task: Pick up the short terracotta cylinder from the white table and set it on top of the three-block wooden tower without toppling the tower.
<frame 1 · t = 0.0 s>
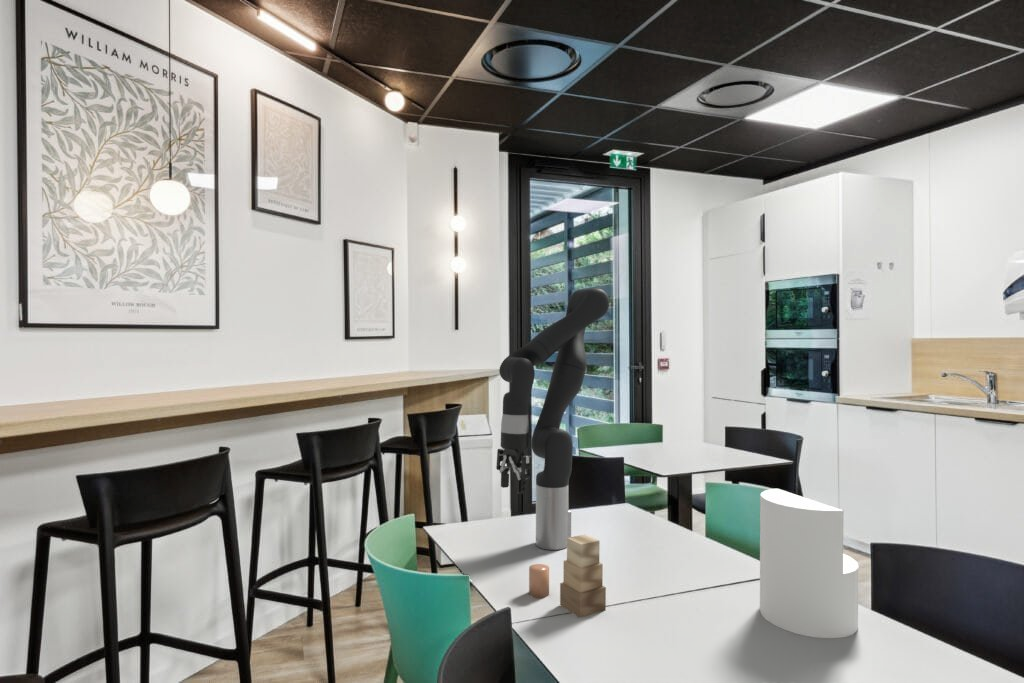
hand: (512, 490, 169), 17 cm above the table, tool pointing down, fingers open, 8 cm apart
tower mid: (582, 585, 135), point 5 cm above the table, touching tower base, tower top
cylinder: (539, 593, 142), on the table
tower top: (583, 562, 135), point 10 cm above the table, touching tower mid
tower base: (582, 608, 135), on the table, touching tower mid
cylinder 2: (807, 617, 131), on the table
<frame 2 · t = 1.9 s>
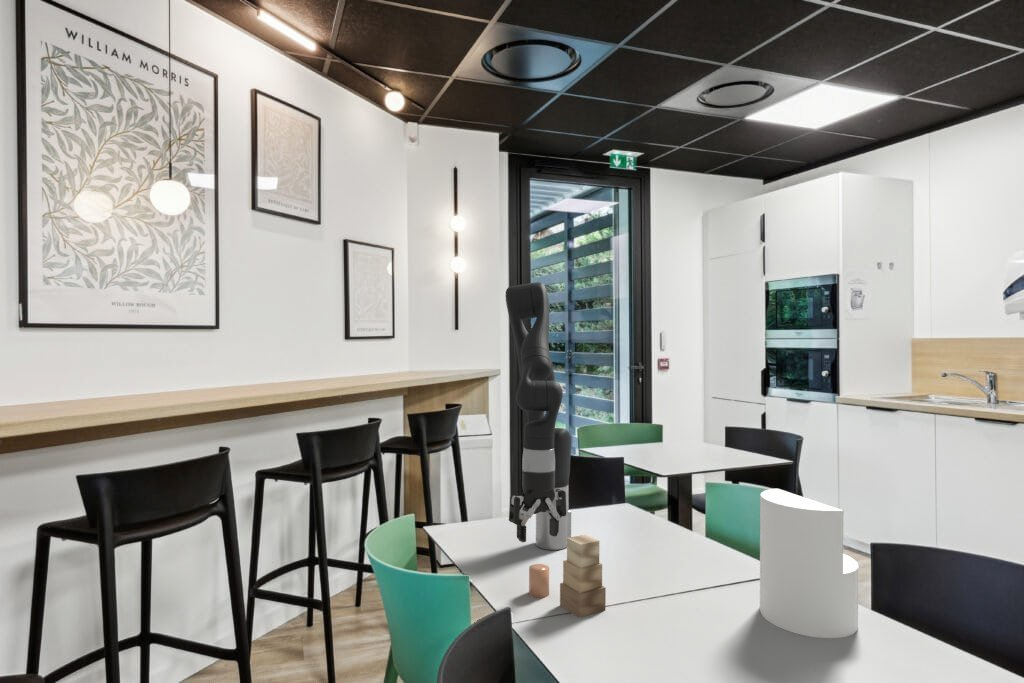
hand: (537, 538, 142), 13 cm above the table, tool pointing down, fingers open, 8 cm apart
nothing on the table moved.
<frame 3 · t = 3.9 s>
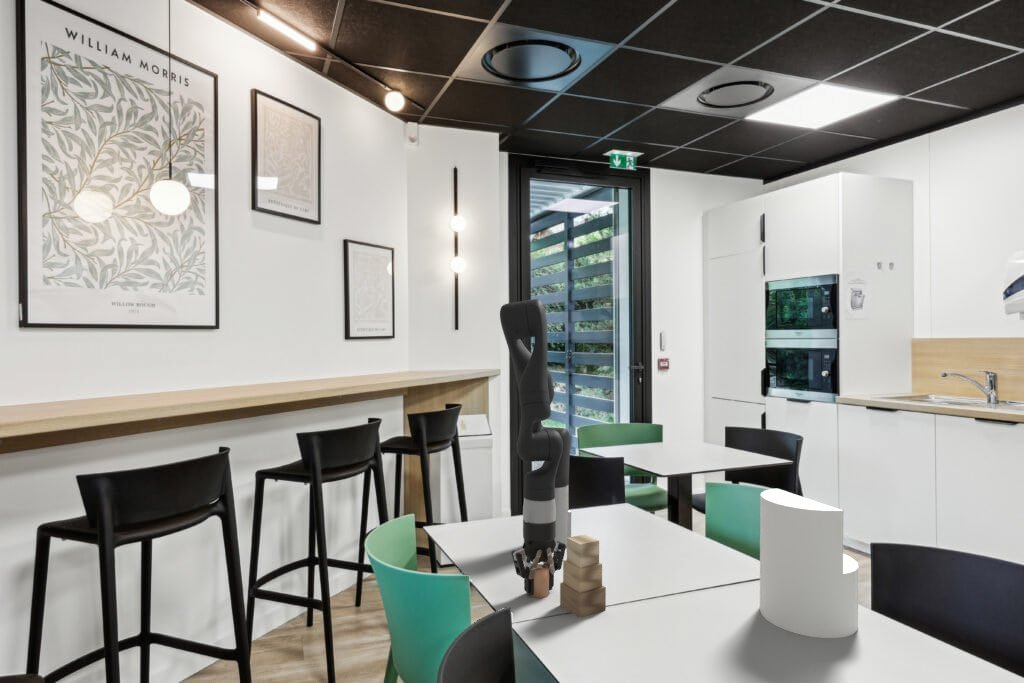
hand: (539, 591, 142), 1 cm above the table, tool pointing down, fingers closed on cylinder, 4 cm apart
cylinder: (539, 593, 142), on the table, touching gripper
everything else where it was.
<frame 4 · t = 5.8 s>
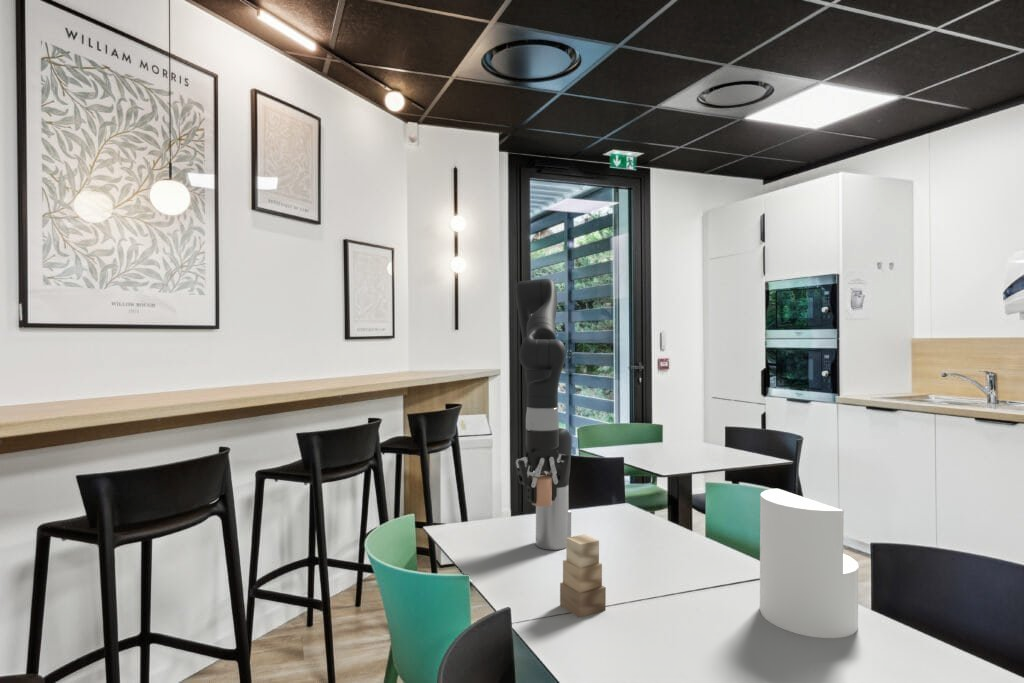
hand: (541, 501, 142), 21 cm above the table, tool pointing down, fingers closed on cylinder, 4 cm apart
cylinder: (541, 503, 142), point 21 cm above the table, touching gripper
everything else where it was.
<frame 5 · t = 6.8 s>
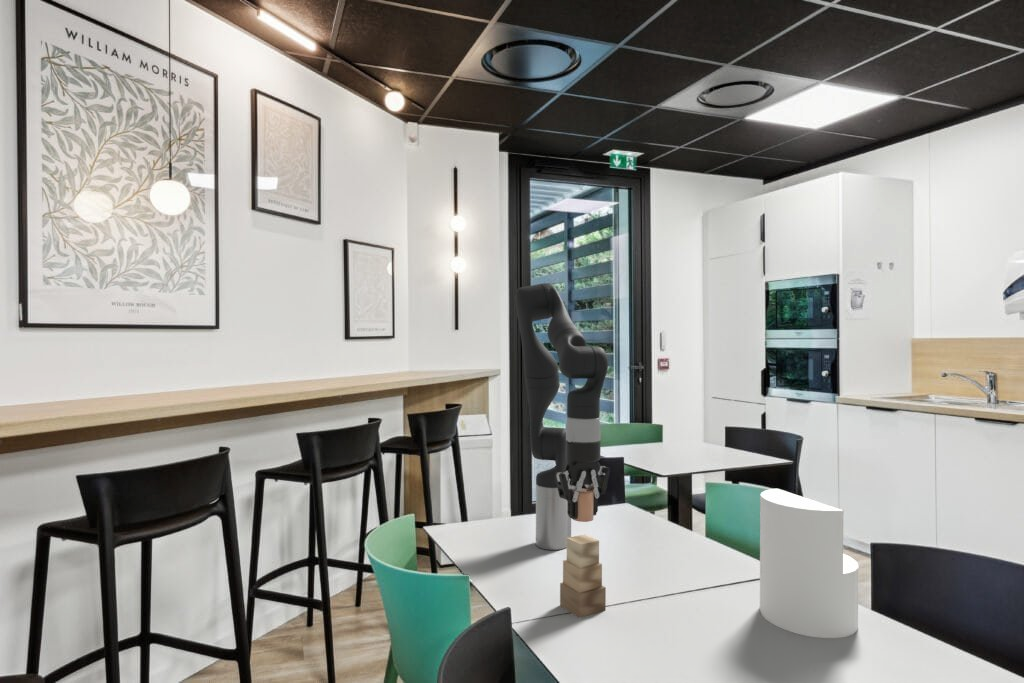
hand: (582, 516, 135), 20 cm above the table, tool pointing down, fingers closed on cylinder, 4 cm apart
cylinder: (582, 518, 135), point 19 cm above the table, touching gripper
everything else where it was.
when the fingers open (17 cm above the table, at t = 7.7 s): cylinder drops 1 cm, resting on tower top.
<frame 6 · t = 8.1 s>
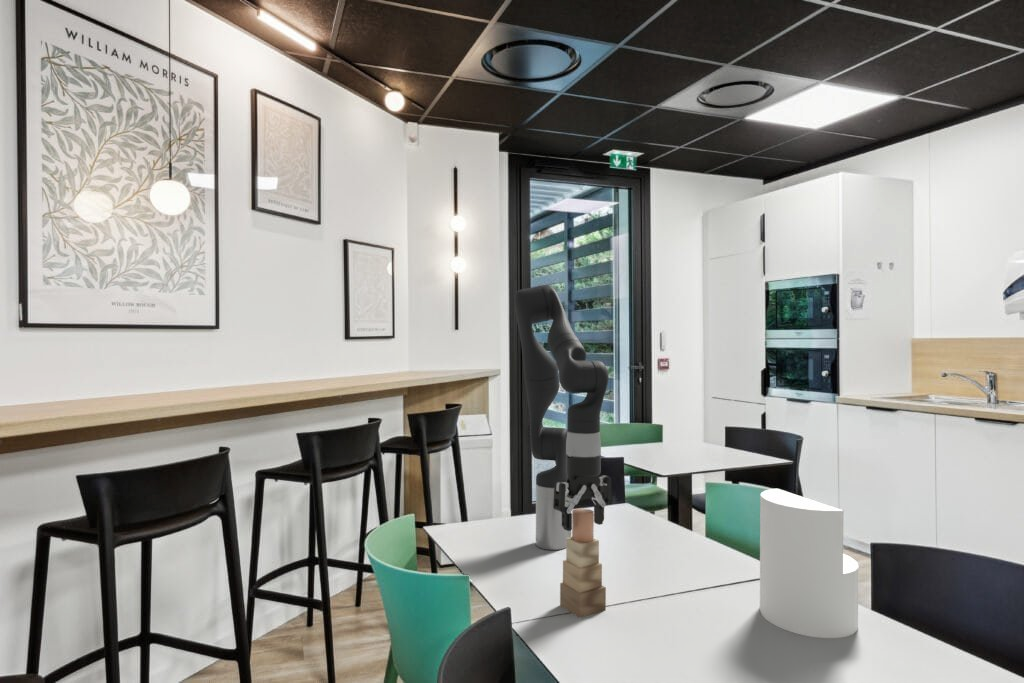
hand: (583, 526, 135), 18 cm above the table, tool pointing down, fingers open, 8 cm apart
cylinder: (582, 539, 135), point 15 cm above the table, touching tower top
tower top: (582, 562, 135), point 10 cm above the table, touching cylinder, tower mid
everything else where it was.
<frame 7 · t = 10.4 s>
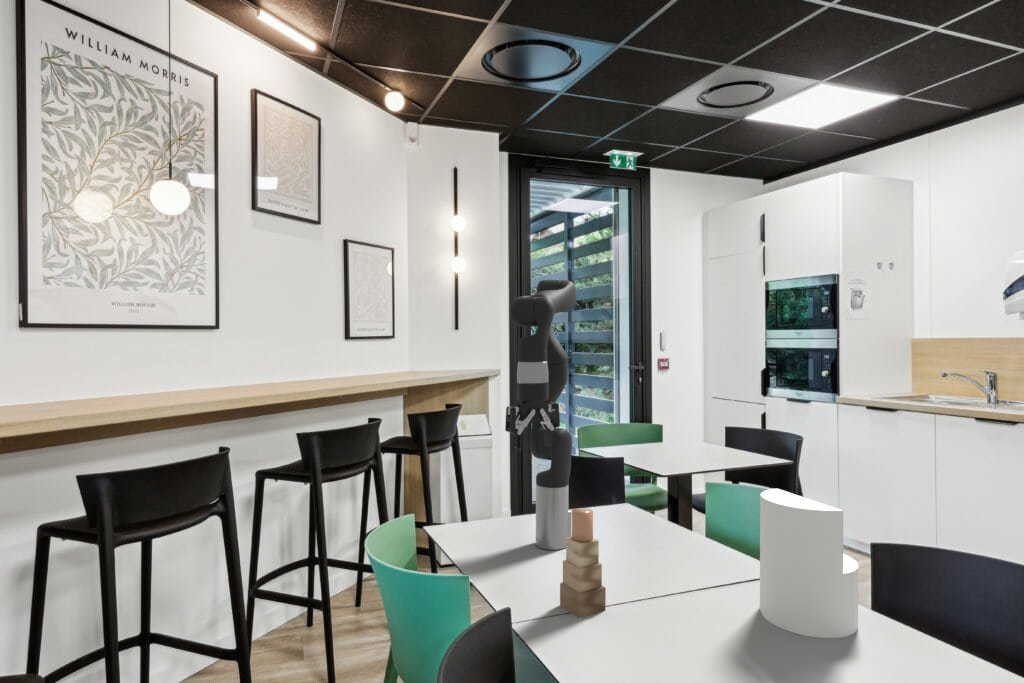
hand: (533, 447, 149), 32 cm above the table, tool pointing down, fingers open, 8 cm apart
nothing on the table moved.
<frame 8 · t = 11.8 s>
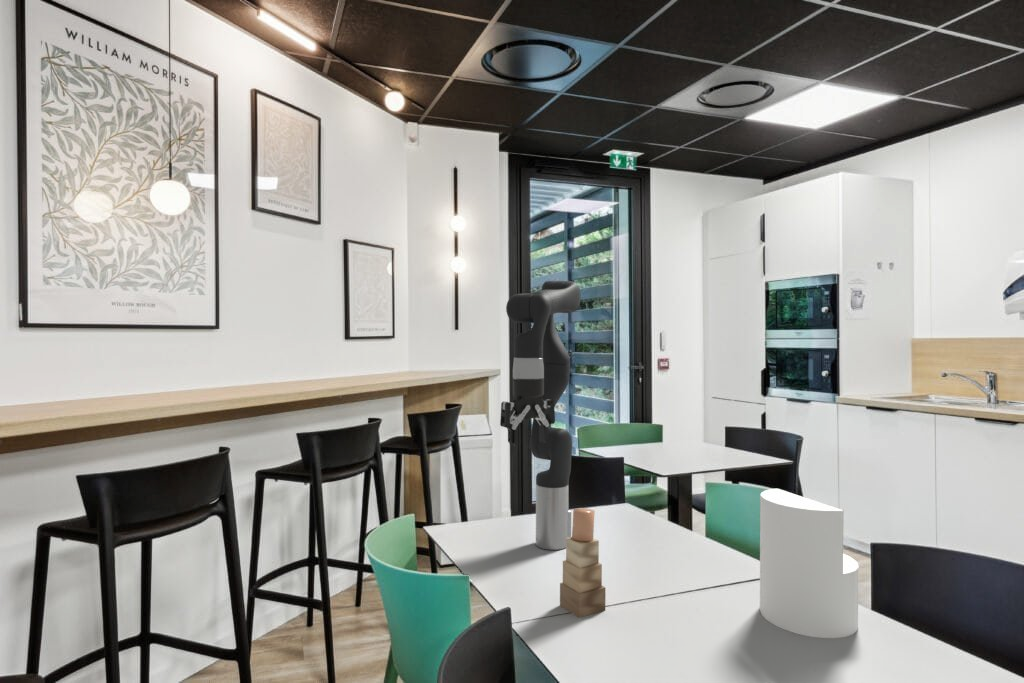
hand: (528, 443, 150), 33 cm above the table, tool pointing down, fingers open, 8 cm apart
nothing on the table moved.
at the end: cylinder 0.1 cm off-centre on the tower top, point 5.2 cm above the tower top's base; tower top inside the target area (0.2 cm from its centre), point 9.9 cm above the table; cylinder tilted 6° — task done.
